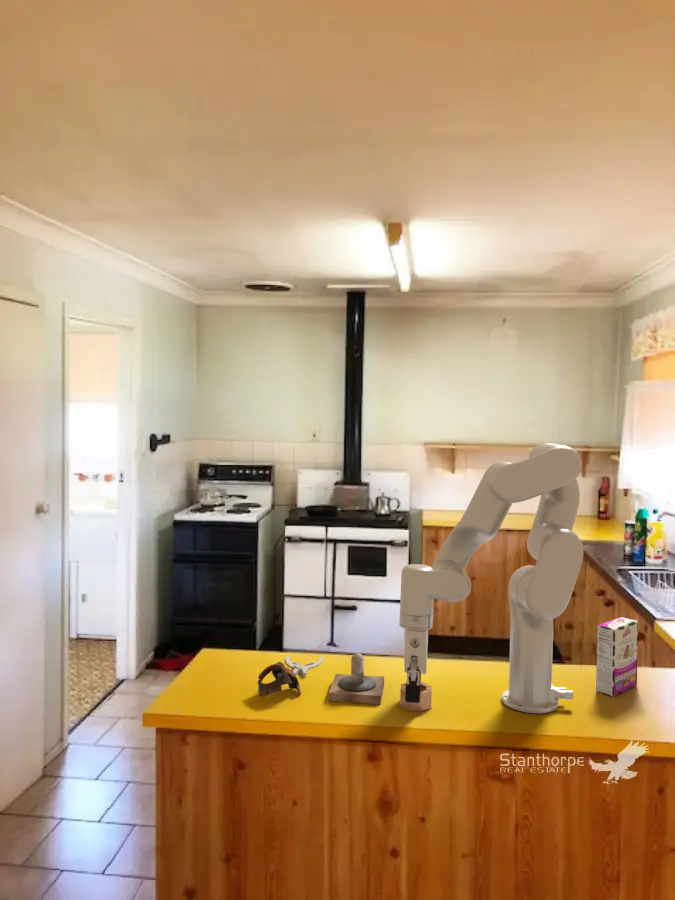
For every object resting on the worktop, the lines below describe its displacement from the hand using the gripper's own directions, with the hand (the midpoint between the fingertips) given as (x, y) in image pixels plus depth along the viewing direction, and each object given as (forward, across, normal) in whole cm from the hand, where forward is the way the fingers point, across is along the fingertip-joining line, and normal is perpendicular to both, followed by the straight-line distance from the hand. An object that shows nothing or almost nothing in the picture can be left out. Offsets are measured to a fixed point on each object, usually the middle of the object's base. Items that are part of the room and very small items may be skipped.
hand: (412, 693), depth 165 cm
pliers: (+4, +20, +29) cm, 36 cm away
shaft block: (+3, +5, +13) cm, 14 cm away
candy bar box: (+1, +17, -49) cm, 52 cm away
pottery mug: (+4, +2, +31) cm, 32 cm away
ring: (+3, 0, -1) cm, 3 cm away
